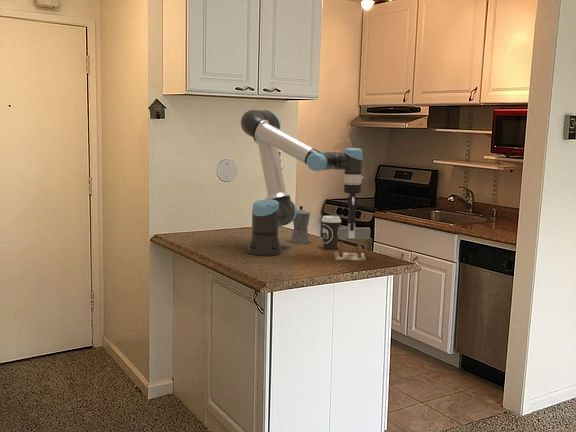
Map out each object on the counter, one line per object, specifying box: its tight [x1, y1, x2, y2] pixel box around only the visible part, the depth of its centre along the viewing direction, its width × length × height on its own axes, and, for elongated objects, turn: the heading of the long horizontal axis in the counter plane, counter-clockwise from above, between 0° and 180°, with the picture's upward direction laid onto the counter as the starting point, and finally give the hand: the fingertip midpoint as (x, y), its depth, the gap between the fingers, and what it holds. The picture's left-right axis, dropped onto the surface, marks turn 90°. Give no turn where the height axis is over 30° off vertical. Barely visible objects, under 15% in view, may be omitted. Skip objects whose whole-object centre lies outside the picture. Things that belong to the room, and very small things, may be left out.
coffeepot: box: [291, 205, 311, 245], centre depth 307 cm, size 15×9×18 cm, turn 25°
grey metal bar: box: [338, 226, 371, 240], centre depth 272 cm, size 14×5×4 cm, turn 88°
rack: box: [333, 241, 366, 262], centre depth 273 cm, size 13×11×6 cm
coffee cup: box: [320, 215, 342, 250], centre depth 292 cm, size 10×10×15 cm
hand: (351, 237), depth 272 cm, fingers closed on grey metal bar, 4 cm apart
